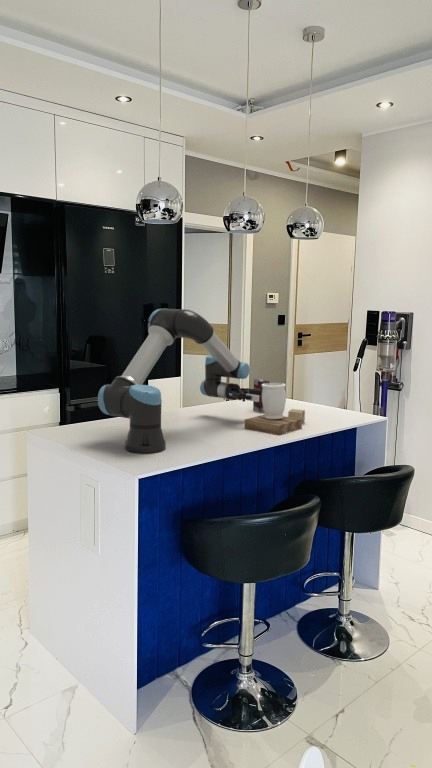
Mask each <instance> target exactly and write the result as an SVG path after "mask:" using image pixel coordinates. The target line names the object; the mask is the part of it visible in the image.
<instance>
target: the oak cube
mask: <svg viewBox="0 0 432 768" xmlns="http://www.w3.org/2000/svg"><path fill="white" fill-rule="evenodd" d="M305 415H306V411H305V409H297V408H296V409H295V408H291V409H290V410H288V415H287V417H291V418H297V419H302V425H304V424H305V423H306V422H305V419H306V416H305ZM303 423H304V424H303Z"/></svg>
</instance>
